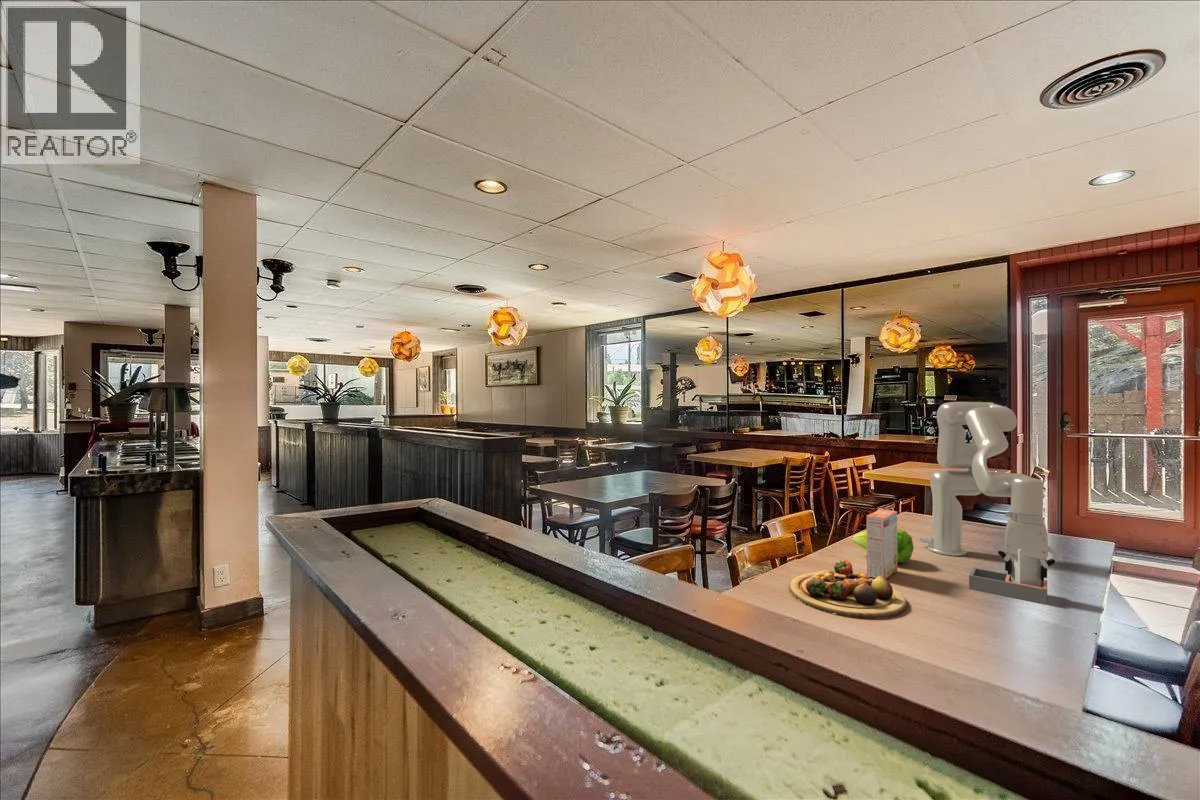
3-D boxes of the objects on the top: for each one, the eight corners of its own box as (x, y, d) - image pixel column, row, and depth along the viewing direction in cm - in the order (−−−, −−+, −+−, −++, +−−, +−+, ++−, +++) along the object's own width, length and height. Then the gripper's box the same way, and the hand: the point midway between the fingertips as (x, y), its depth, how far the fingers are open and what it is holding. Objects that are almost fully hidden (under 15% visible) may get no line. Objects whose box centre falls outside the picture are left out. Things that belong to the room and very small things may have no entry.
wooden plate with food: (807, 571, 179) (807, 548, 178) (914, 593, 158) (914, 566, 158) (773, 602, 154) (773, 574, 154) (895, 632, 134) (895, 600, 133)
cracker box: (879, 567, 182) (879, 508, 182) (898, 571, 178) (898, 511, 178) (865, 577, 172) (865, 514, 172) (884, 581, 168) (885, 517, 168)
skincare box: (1031, 584, 159) (1031, 546, 159) (1041, 590, 155) (1042, 550, 155) (1009, 584, 160) (1010, 545, 159) (1019, 589, 155) (1020, 549, 155)
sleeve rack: (969, 588, 162) (969, 574, 162) (973, 580, 170) (973, 566, 170) (1046, 604, 150) (1046, 589, 150) (1047, 594, 157) (1047, 580, 157)
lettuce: (859, 549, 203) (859, 519, 203) (918, 561, 189) (918, 528, 189) (847, 557, 193) (847, 525, 193) (908, 570, 179) (909, 535, 179)
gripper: (989, 516, 160) (988, 573, 160) (1065, 525, 148) (1064, 587, 148) (992, 511, 165) (991, 567, 166) (1065, 520, 154) (1064, 580, 154)
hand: (1025, 576), depth 157 cm, fingers closed on skincare box, 7 cm apart
